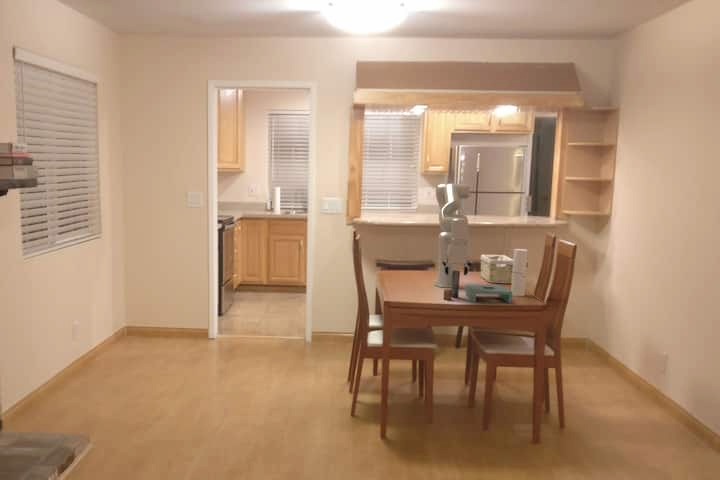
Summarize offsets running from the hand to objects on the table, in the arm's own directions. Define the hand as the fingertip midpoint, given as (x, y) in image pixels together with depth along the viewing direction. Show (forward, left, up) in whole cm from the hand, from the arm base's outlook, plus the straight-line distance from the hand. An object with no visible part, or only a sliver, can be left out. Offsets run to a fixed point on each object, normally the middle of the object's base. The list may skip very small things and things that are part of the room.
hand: (456, 274), depth 294 cm
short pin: (+5, -5, -12) cm, 14 cm away
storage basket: (-52, +37, -13) cm, 65 cm away
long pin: (-1, 0, -12) cm, 12 cm away
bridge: (+2, +17, -12) cm, 21 cm away
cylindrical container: (-11, +37, -12) cm, 40 cm away
